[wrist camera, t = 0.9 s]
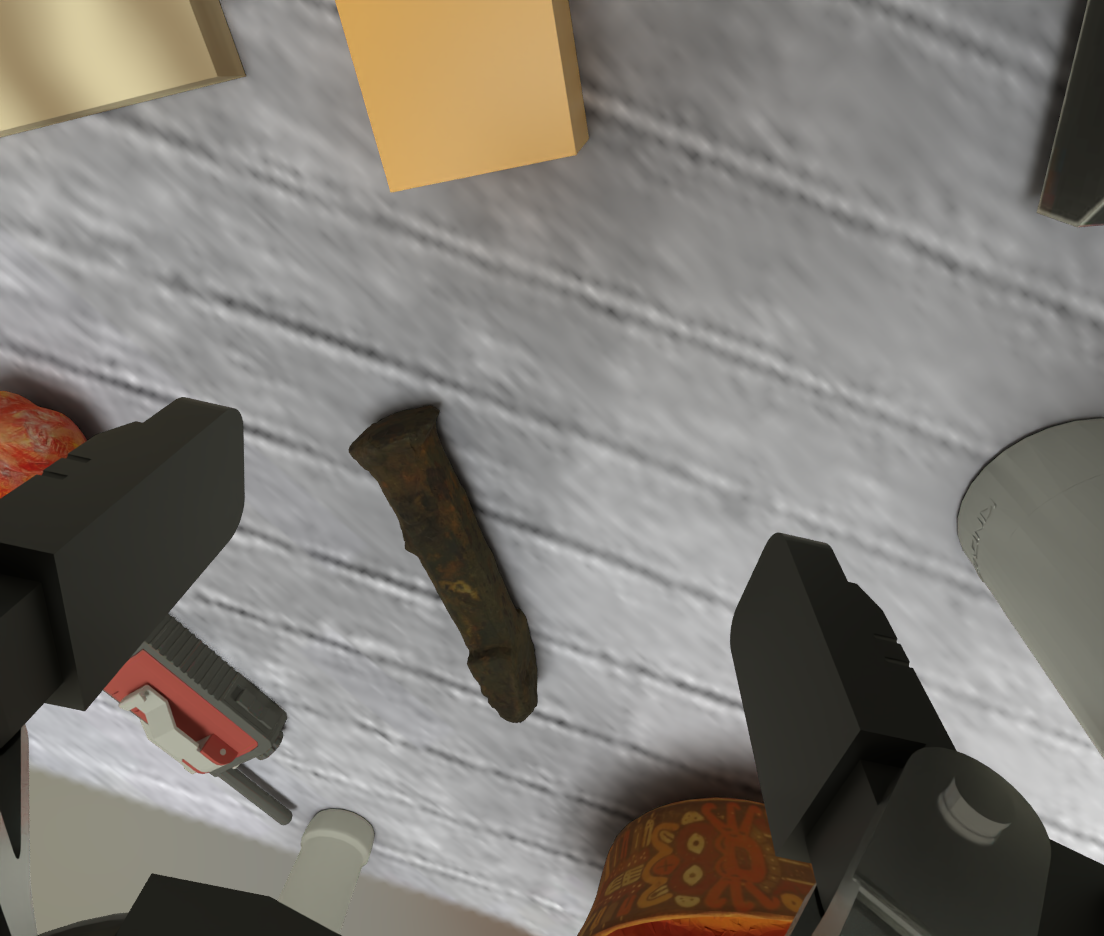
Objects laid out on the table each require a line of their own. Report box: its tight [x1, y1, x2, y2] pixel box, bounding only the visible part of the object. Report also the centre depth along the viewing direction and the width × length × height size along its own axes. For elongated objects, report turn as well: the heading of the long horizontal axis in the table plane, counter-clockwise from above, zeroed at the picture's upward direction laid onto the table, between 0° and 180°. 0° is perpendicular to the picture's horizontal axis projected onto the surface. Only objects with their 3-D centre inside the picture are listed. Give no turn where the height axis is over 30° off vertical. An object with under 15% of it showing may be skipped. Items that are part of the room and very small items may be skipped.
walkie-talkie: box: [103, 614, 292, 825], centre depth 44 cm, size 9×4×20 cm
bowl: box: [577, 797, 816, 936], centre depth 42 cm, size 21×21×10 cm
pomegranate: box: [0, 391, 87, 498], centre depth 33 cm, size 7×7×10 cm
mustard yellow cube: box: [335, 0, 589, 192], centre depth 22 cm, size 6×6×6 cm
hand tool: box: [349, 405, 538, 723], centre depth 35 cm, size 19×4×5 cm, turn 17°
